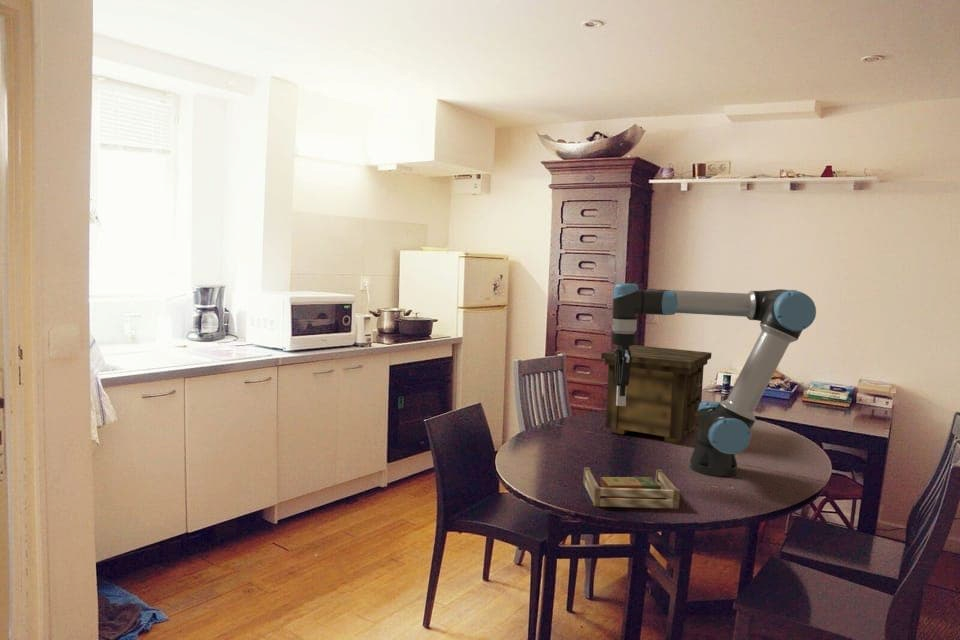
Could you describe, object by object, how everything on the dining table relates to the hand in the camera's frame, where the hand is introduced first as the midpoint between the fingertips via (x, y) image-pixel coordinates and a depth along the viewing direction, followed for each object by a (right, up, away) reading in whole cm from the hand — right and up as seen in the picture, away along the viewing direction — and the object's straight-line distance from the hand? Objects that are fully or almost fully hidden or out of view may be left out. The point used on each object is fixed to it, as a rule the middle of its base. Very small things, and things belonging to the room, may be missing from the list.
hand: (620, 405), depth 204 cm
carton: (-1, -25, -14) cm, 29 cm away
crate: (+26, -19, +59) cm, 67 cm away
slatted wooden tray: (-1, -24, -16) cm, 29 cm away
